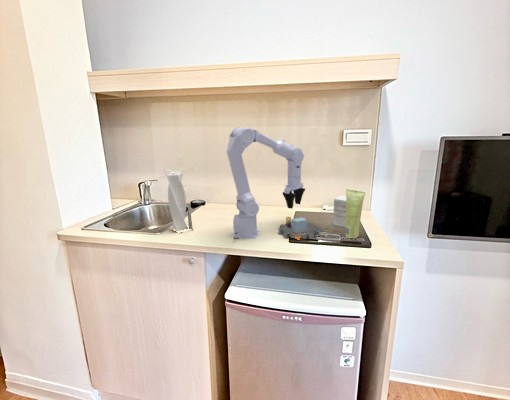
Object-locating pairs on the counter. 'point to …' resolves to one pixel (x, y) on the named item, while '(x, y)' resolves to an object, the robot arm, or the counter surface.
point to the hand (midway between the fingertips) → (294, 205)
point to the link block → (299, 225)
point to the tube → (353, 212)
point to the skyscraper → (177, 201)
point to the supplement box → (339, 211)
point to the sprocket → (288, 232)
